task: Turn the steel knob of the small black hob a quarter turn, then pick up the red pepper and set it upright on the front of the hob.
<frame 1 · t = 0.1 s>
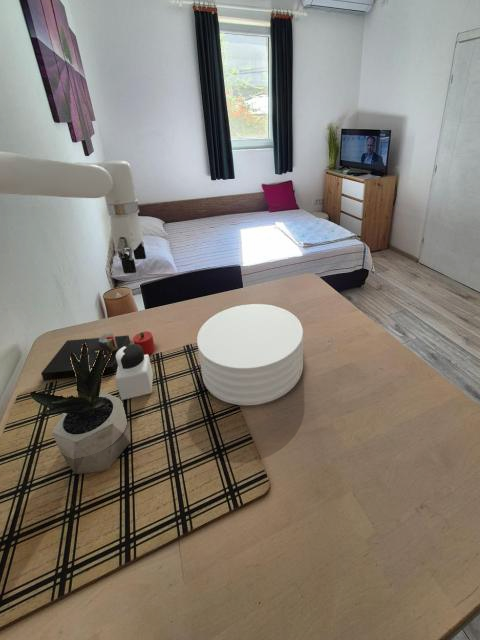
hand: (135, 265, 94), 25 cm above the table, tool pointing down, fingers open, 9 cm apart
plate stack: (253, 365, 91), on the table
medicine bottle: (138, 387, 84), on the table
pepper: (145, 350, 98), on the table
hob knob: (108, 343, 93), point 5 cm above the table, hinge at 0.0°
hob: (90, 359, 94), on the table
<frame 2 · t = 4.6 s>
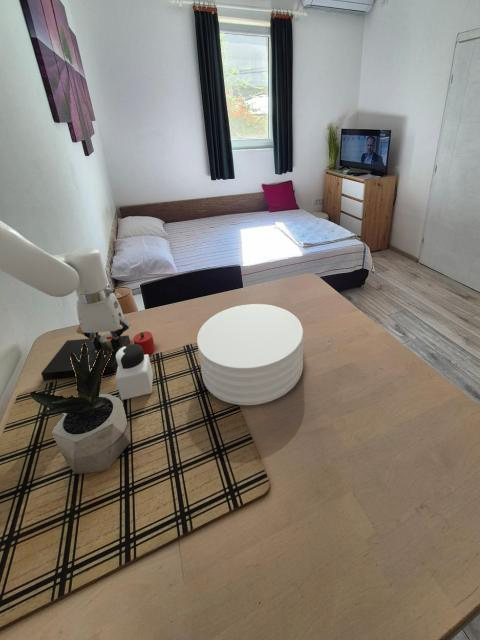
hand: (109, 348, 94), 3 cm above the table, tool pointing down, fingers closed on hob knob, 4 cm apart
hob knob: (108, 343, 93), point 5 cm above the table, hinge at -0.1°, touching gripper
everything else where it was.
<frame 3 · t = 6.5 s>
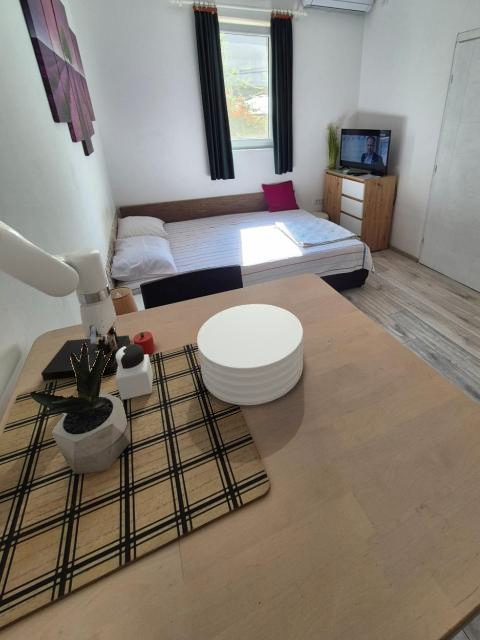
hand: (109, 348, 94), 3 cm above the table, tool pointing down, fingers closed on hob knob, 4 cm apart
hob knob: (108, 343, 93), point 5 cm above the table, hinge at 91.0°, touching gripper
everything else where it was.
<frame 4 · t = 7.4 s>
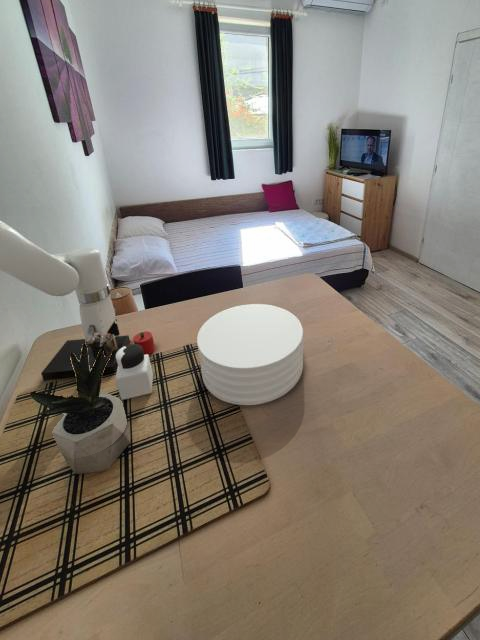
hand: (107, 345, 93), 4 cm above the table, tool pointing down, fingers open, 9 cm apart
hob knob: (108, 343, 93), point 5 cm above the table, hinge at 92.7°
everything else where it was.
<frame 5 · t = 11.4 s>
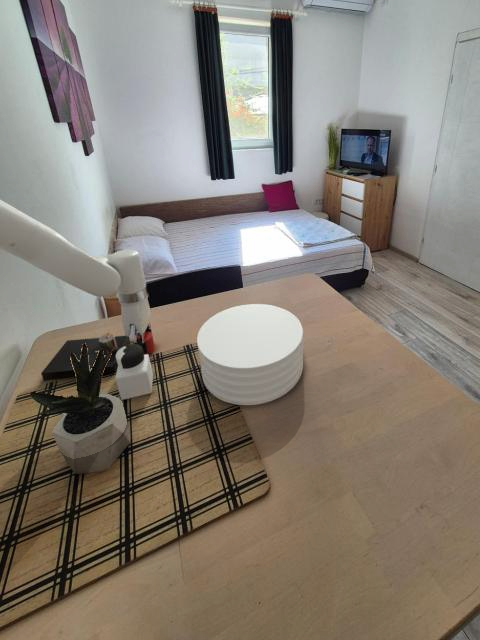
hand: (144, 346, 97), 2 cm above the table, tool pointing down, fingers closed on pepper, 5 cm apart
pepper: (145, 350, 98), on the table, touching gripper
everything else where it was.
when the fingers open (4 cm above the table, at t = 19.2 s): pepper stays where it is, resting on hob.
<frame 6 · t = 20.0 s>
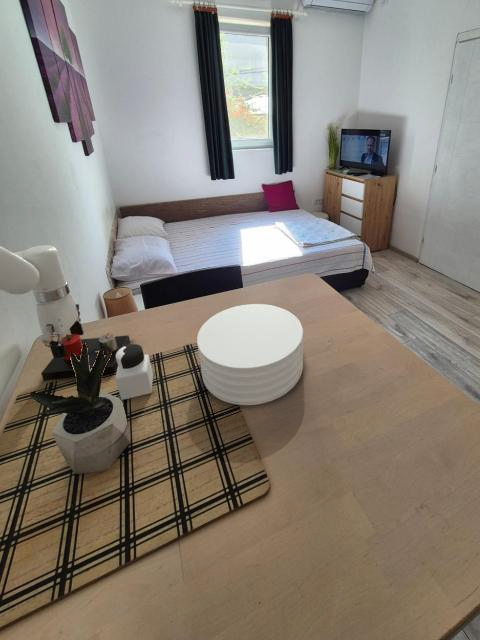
hand: (69, 345, 92), 6 cm above the table, tool pointing down, fingers open, 9 cm apart
pepper: (73, 353, 93), point 2 cm above the table, touching hob
everything else where it was.
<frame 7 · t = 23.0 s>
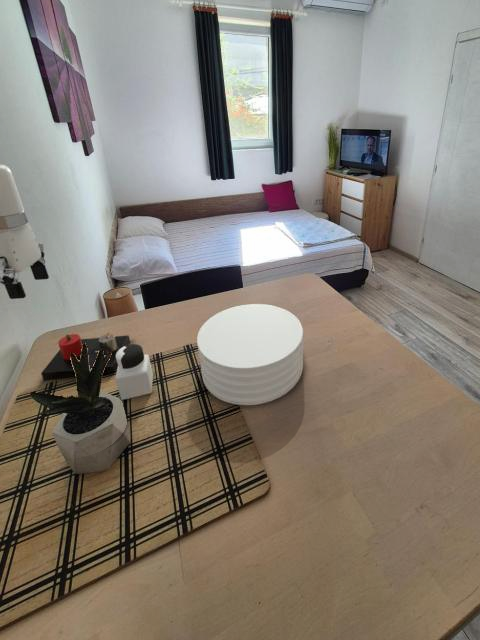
hand: (30, 288, 80), 26 cm above the table, tool pointing down, fingers open, 9 cm apart
nothing on the table moved.
at the end: hob knob at +93° (first picture: +0°); pepper inside the target area on the hob (3.9 cm from its centre), point 2.5 cm above the hob's base; pepper tilted 0° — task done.
